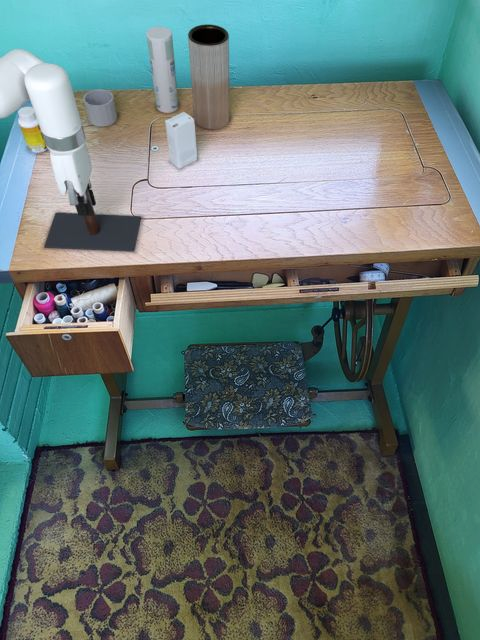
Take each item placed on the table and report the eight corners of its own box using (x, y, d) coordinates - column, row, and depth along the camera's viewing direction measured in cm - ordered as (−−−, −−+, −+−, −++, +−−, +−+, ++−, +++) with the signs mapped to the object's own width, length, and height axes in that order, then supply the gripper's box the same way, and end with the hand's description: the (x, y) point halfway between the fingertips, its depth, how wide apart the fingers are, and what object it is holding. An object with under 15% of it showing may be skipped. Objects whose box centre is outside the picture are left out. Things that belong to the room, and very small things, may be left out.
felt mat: (44, 248, 118) (43, 246, 117) (56, 214, 124) (55, 212, 123) (133, 251, 118) (133, 250, 118) (140, 217, 124) (140, 216, 124)
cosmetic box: (187, 152, 138) (183, 109, 128) (198, 160, 137) (195, 118, 126) (169, 161, 136) (163, 119, 126) (179, 170, 134) (175, 128, 124)
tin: (86, 125, 143) (80, 105, 138) (91, 109, 147) (86, 88, 142) (114, 127, 143) (110, 106, 138) (119, 110, 147) (115, 90, 142)
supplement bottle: (50, 153, 136) (37, 116, 127) (27, 154, 135) (13, 118, 126) (50, 139, 139) (38, 103, 130) (28, 141, 138) (15, 105, 129)
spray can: (177, 113, 147) (170, 39, 131) (154, 112, 147) (144, 38, 131) (180, 100, 151) (173, 26, 134) (157, 99, 151) (147, 25, 134)
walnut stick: (87, 234, 120) (74, 193, 110) (89, 226, 121) (76, 184, 111) (98, 235, 120) (86, 193, 110) (101, 227, 121) (88, 185, 111)
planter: (237, 121, 147) (237, 36, 128) (209, 134, 143) (205, 49, 124) (214, 104, 151) (211, 19, 132) (186, 117, 147) (179, 32, 128)
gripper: (54, 109, 104) (78, 184, 120) (33, 161, 95) (61, 235, 111) (92, 111, 104) (111, 186, 120) (74, 163, 95) (97, 236, 111)
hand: (87, 209), depth 115 cm, fingers closed on walnut stick, 2 cm apart
